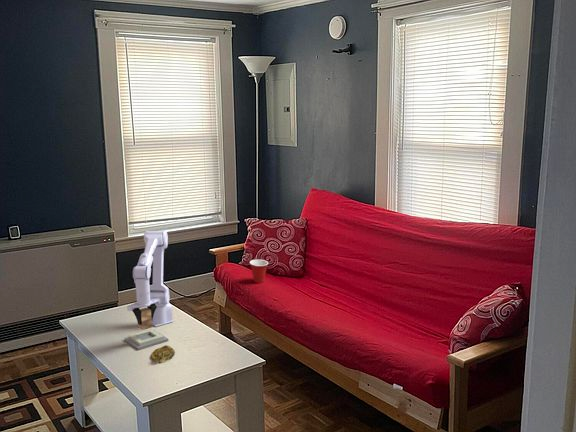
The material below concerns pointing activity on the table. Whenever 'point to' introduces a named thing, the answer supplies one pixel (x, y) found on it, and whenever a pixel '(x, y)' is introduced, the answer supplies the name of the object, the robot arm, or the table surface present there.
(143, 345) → the plate
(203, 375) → the table surface
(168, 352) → the mottled brown rock
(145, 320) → the tan block
